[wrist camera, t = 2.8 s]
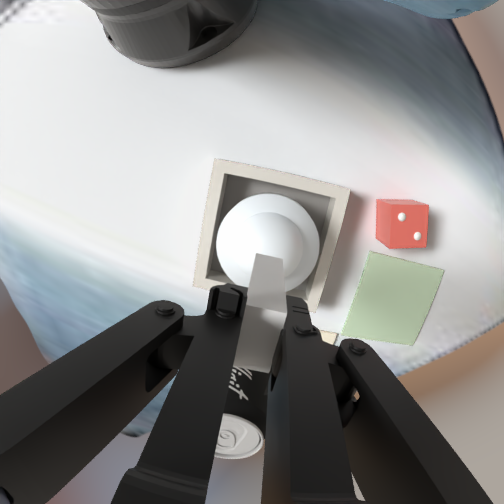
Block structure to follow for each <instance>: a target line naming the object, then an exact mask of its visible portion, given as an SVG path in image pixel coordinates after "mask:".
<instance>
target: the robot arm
mask: <svg viewBox="0 0 504 504" xmlns="http://www.w3.org/2000/svg"><path fill="white" fill-rule="evenodd" d="M80 1H82V2H83V3H85V4H86V5H87V6H89V7H90V8H92V9H93V10H95V12H96V14H97V16H98V18H99V20H100V22H101V23H102V24H103V28H104V32H105V34H106V37H107V39H108V40H109V42H110V43H111V45H112V46H113V47H114V48H115V49H116V50H117V51H118V52H120V53H121V54H123V55H124V56H126V57H127V58H129V59H130V60H132V61H134V62H136V63H138V64H141V65H145V66H149V67H158V68H167V67H177V66H182V65H187V64H191V63H194V62H197V61H200V60H202V59H205V58H207V57H209V56H211V55H213V54H215V53H217V52H219V51H220V50H222V49H223V48H225V47H226V46H228V45H229V44H230V43H232V42H233V41H234V40H235V39H236V38H237V37H238V36H239V35H240V34H241V33H242V32H243V31H244V30H245V29H246V28H247V26H248V25H249V23H250V22H251V20H252V18H253V16H254V14H255V12H256V9H257V4H258V0H80ZM385 1H388V2H391V3H393V4H396V5H399V6H401V7H404V8H407V9H409V10H412V11H414V12H417V13H419V14H422V15H425V16H428V17H433V18H440V19H452V18H458V17H461V16H466V15H469V14H470V13H472V12H474V11H480V10H483V9H485V8H487V7H489V6H491V5H492V4H494V3H495V2H497V1H498V0H385ZM271 365H272V372H271V375H270V378H269V381H268V384H267V387H266V390H265V393H264V395H267V393H268V399H267V418H266V435H265V452H264V467H263V481H262V497H261V504H493V502H492V501H491V500H490V498H489V497H488V496H487V494H486V493H485V491H484V490H483V489H482V487H481V486H480V484H479V483H478V482H477V480H476V479H475V478H474V476H473V475H472V474H471V472H470V471H469V470H468V468H467V467H466V465H465V464H464V463H463V462H462V460H461V459H460V458H459V456H458V455H457V454H456V452H455V451H454V450H453V449H452V447H451V446H450V444H449V443H448V442H447V441H446V439H445V438H444V437H443V435H442V434H441V433H440V432H439V430H438V429H437V428H436V426H435V425H434V424H433V423H432V421H431V420H430V419H429V417H428V416H427V415H426V414H425V412H424V411H423V410H422V409H421V407H420V406H419V405H418V404H417V402H416V401H415V400H414V399H413V397H412V396H411V395H410V394H409V392H408V391H407V390H406V389H405V387H404V386H403V385H402V384H401V382H400V381H399V380H398V379H397V378H396V376H395V375H394V374H393V373H392V371H391V370H390V369H389V368H388V367H387V365H386V364H385V363H384V362H383V361H382V359H381V358H380V357H379V356H378V354H377V353H376V352H375V351H374V350H373V348H371V347H370V346H369V345H368V344H366V343H365V342H363V341H361V340H359V339H351V338H349V339H344V340H342V341H341V344H340V346H339V347H338V346H335V345H332V344H329V343H327V342H325V341H323V340H322V336H321V333H320V331H319V329H318V328H316V327H315V326H314V325H312V323H311V318H310V315H309V310H308V305H307V303H306V302H305V301H304V300H303V299H302V298H299V297H294V296H289V295H286V292H285V280H284V268H283V259H281V258H277V257H272V256H268V255H263V254H259V253H256V255H255V260H254V264H253V269H252V273H251V278H250V282H249V287H243V286H239V285H235V284H230V283H226V284H224V285H216V286H213V287H212V288H210V293H209V299H208V305H207V310H206V312H205V314H204V315H200V316H185V315H184V309H183V308H182V307H181V306H180V305H178V304H176V303H173V302H171V301H167V300H166V301H165V300H161V301H154V302H152V303H149V304H148V305H146V306H144V307H143V308H141V309H139V310H138V311H136V312H134V313H133V314H131V315H129V316H128V317H126V318H125V319H123V320H121V321H120V322H118V323H116V324H115V325H113V326H111V327H110V328H108V329H106V330H105V331H103V332H101V333H100V334H98V335H97V336H95V337H93V338H92V339H90V340H88V341H87V342H85V343H83V344H82V345H80V346H79V347H77V348H75V349H74V350H72V351H70V352H69V353H67V354H65V355H64V356H62V357H61V358H59V359H57V360H56V361H54V362H52V363H51V364H49V365H48V366H46V367H45V368H43V369H41V370H40V371H38V372H36V373H35V374H33V375H31V376H30V377H28V378H27V379H25V380H23V381H22V382H20V383H19V384H17V385H15V386H14V387H12V388H11V389H9V390H8V391H6V392H4V393H3V394H1V395H0V504H45V503H46V502H48V501H49V500H50V499H51V498H52V497H53V496H55V495H56V494H57V493H58V492H59V491H60V490H61V489H62V488H63V487H64V486H65V485H66V484H67V483H68V482H69V481H71V479H73V477H75V476H76V475H77V474H78V473H79V472H80V471H81V470H82V469H83V468H84V467H85V466H86V465H87V464H88V463H89V462H90V461H91V460H92V459H93V458H94V457H95V456H96V455H97V454H99V453H100V451H102V450H103V448H105V447H106V446H107V445H108V444H109V442H111V441H112V440H113V439H114V438H115V437H116V436H117V435H118V434H119V433H120V432H121V431H122V430H123V429H124V428H125V427H126V426H127V425H128V424H129V423H130V422H131V421H132V420H133V419H134V418H135V417H136V416H137V415H138V414H139V413H140V412H141V411H142V410H143V408H144V407H145V406H146V405H147V404H148V403H149V402H150V401H151V400H152V399H153V398H154V397H155V396H156V395H157V394H158V393H159V392H160V391H161V390H162V389H163V388H164V387H165V386H166V385H167V384H168V383H169V382H170V381H171V380H172V379H173V377H174V376H175V375H176V374H177V375H176V378H175V380H174V382H173V384H172V386H171V389H170V391H169V393H168V395H167V397H166V400H165V402H164V404H163V406H162V409H161V411H160V413H159V415H158V418H157V420H156V422H155V424H154V427H153V429H152V431H151V434H150V436H149V438H148V440H147V443H146V445H145V447H144V450H143V452H142V454H141V456H140V459H139V461H138V463H137V465H136V466H135V467H134V468H131V469H128V471H126V473H125V474H124V476H123V478H122V480H121V481H120V484H119V486H118V488H117V490H116V492H115V495H114V497H113V499H112V501H111V504H205V500H206V495H207V488H208V483H209V478H210V474H211V469H212V464H213V459H214V455H215V450H216V445H217V441H218V436H219V431H220V427H221V422H222V417H223V412H224V407H225V403H226V398H227V393H228V388H229V384H230V379H231V374H232V369H233V366H236V367H240V368H245V369H250V370H255V371H260V372H266V373H269V372H270V369H271ZM178 369H179V371H178ZM177 372H178V373H177ZM356 391H358V393H359V395H360V397H359V399H358V400H356V398H355V397H354V394H355V392H356ZM351 472H352V474H353V476H354V478H355V480H356V482H357V484H358V486H359V489H360V491H361V493H362V495H363V497H364V499H365V501H361V500H358V499H357V498H356V495H355V491H354V485H353V480H352V474H351Z"/></svg>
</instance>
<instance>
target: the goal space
mask: <svg viewBox="0 0 504 504" xmlns="http://www.w3.org/2000/svg"><path fill="white" fill-rule="evenodd" d="M443 272H444V270H441V269H438V268H434V267H430V266H426V265H423V264H419V263H415V262H411V261H407V260H403V259H399V258H396V257H392V256H388V255H384V254H380V253H376V252H372V251H369V255H368V258H367V261H366V264H365V267H364V271H363V274H362V277H361V280H360V283H359V286H358V289H357V291H356V294H355V297H354V300H353V303H352V306H351V308H350V311H349V314H348V317H347V319H346V322H345V324H344V327H343V330H342V332H341V335H342V336H349V337H355V338H361V339H368V340H375V341H382V342H389V343H397V344H405V345H413V344H414V342H415V340H416V338H417V336H418V333H419V331H420V329H421V327H422V325H423V323H424V320H425V318H426V316H427V313H428V311H429V309H430V306H431V304H432V301H433V299H434V296H435V294H436V291H437V289H438V286H439V283H440V281H441V278H442V275H443Z"/></svg>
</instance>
